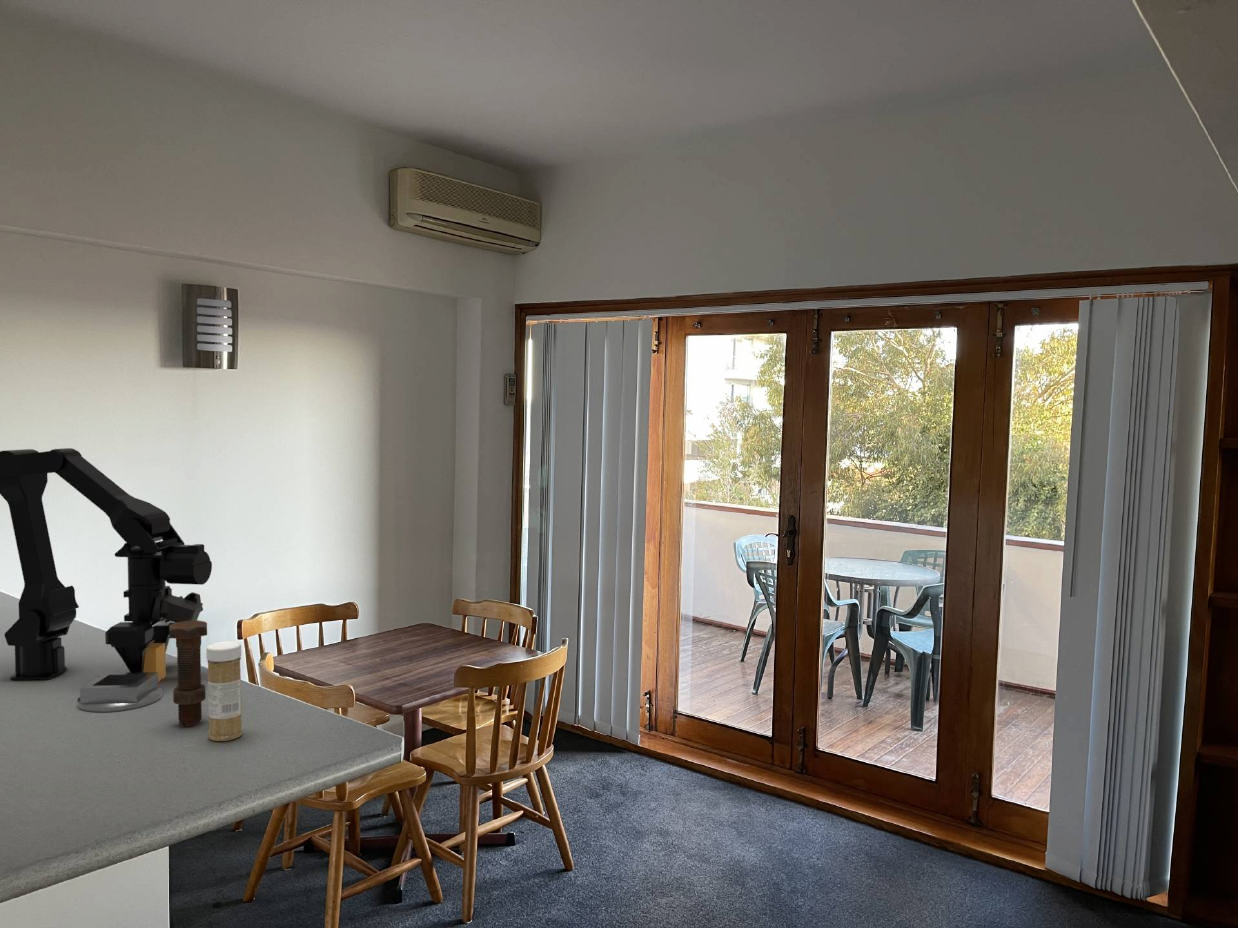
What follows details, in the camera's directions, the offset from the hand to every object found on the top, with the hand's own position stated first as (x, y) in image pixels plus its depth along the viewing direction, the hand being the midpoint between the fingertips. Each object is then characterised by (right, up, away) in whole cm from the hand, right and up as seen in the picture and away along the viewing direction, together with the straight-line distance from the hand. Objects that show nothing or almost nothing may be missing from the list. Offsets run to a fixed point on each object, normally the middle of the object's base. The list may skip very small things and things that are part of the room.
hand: (148, 672), depth 159 cm
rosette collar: (+1, -2, -11) cm, 11 cm away
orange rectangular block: (0, -1, 0) cm, 1 cm away
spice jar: (+25, -3, -27) cm, 36 cm away
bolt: (+17, -3, -21) cm, 28 cm away
